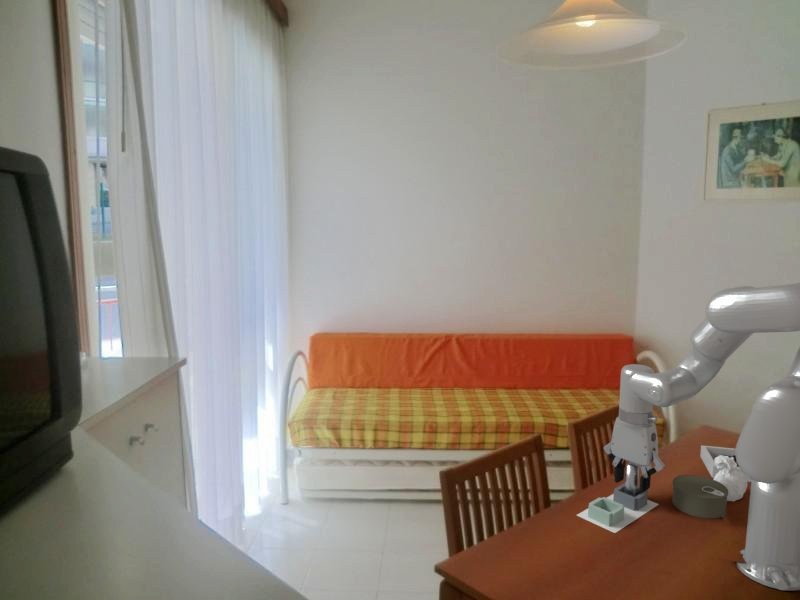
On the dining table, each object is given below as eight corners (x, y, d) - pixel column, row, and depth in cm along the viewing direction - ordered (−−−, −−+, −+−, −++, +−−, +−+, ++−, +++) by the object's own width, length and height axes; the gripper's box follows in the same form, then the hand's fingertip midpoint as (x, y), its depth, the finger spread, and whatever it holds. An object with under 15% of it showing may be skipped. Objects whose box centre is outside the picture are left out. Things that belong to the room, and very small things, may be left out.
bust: (739, 497, 150) (716, 456, 155) (764, 490, 144) (739, 447, 149) (712, 509, 144) (689, 466, 149) (737, 502, 138) (712, 457, 143)
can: (686, 495, 147) (688, 470, 146) (735, 514, 137) (737, 488, 136) (661, 509, 140) (662, 483, 139) (710, 530, 131) (712, 503, 130)
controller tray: (772, 484, 152) (773, 472, 152) (712, 477, 156) (713, 465, 156) (755, 461, 166) (756, 450, 166) (700, 456, 170) (701, 445, 170)
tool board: (614, 539, 127) (615, 520, 127) (576, 520, 135) (576, 503, 134) (658, 509, 140) (659, 492, 139) (620, 494, 147) (621, 478, 147)
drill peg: (637, 506, 139) (640, 467, 137) (624, 504, 140) (626, 466, 138) (636, 500, 142) (638, 462, 140) (623, 498, 142) (625, 461, 141)
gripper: (678, 422, 133) (673, 494, 136) (611, 403, 146) (607, 469, 149) (662, 429, 128) (658, 504, 131) (594, 410, 142) (591, 478, 144)
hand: (631, 485), depth 140 cm, fingers open, 5 cm apart
